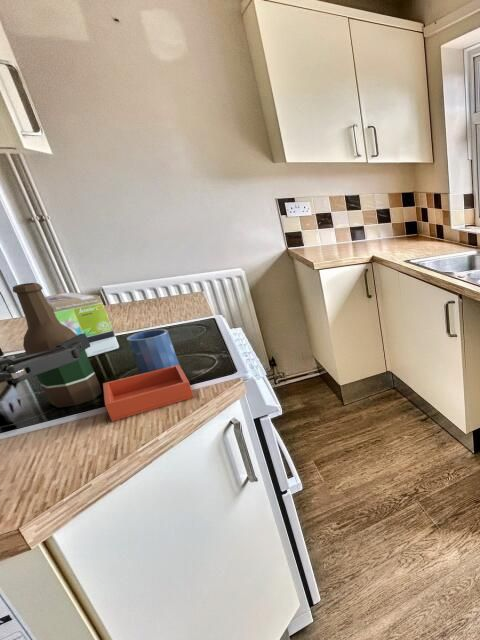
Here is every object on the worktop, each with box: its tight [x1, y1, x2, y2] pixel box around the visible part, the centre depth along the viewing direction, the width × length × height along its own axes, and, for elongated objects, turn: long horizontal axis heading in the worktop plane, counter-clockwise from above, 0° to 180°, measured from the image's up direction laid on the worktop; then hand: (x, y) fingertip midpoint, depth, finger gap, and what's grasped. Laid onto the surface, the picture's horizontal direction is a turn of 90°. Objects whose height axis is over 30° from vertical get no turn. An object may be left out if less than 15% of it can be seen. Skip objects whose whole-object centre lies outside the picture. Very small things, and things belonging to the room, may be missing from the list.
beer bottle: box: [12, 282, 102, 409], centre depth 82 cm, size 8×8×24 cm
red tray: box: [102, 364, 195, 422], centre depth 85 cm, size 13×13×4 cm
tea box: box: [45, 291, 120, 358], centre depth 109 cm, size 15×10×15 cm, turn 65°
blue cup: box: [126, 328, 180, 374], centre depth 94 cm, size 7×7×10 cm
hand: (43, 344), depth 80 cm, fingers open, 13 cm apart
